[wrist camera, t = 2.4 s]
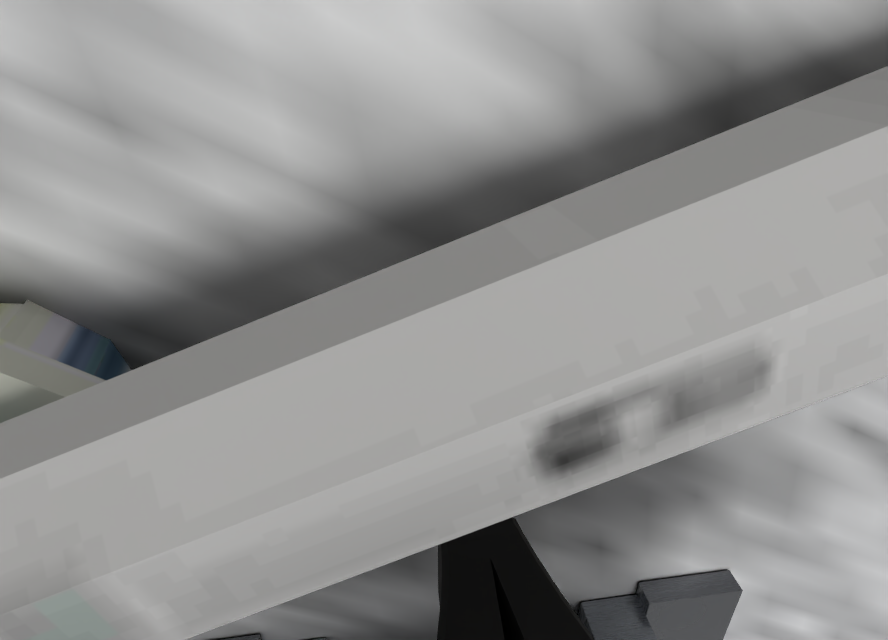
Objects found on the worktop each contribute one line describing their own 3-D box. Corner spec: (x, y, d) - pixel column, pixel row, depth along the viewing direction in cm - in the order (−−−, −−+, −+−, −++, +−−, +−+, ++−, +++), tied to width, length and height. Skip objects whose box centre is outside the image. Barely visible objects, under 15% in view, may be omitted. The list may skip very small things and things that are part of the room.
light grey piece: (1550, 231, 8) (-504, 1227, 5) (1004, 141, 13) (-101, 587, 11) (1981, -305, 5) (-1908, 1212, 2) (1069, -135, 11) (-381, 370, 8)
